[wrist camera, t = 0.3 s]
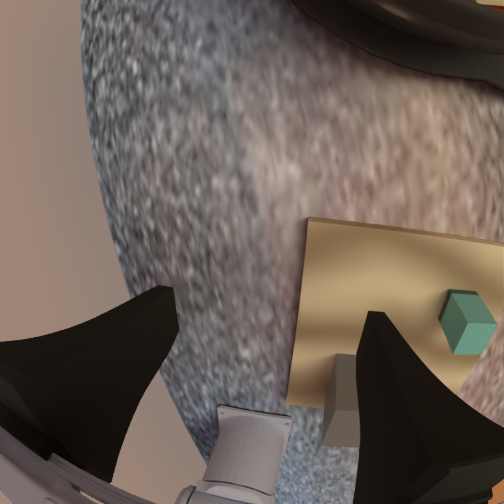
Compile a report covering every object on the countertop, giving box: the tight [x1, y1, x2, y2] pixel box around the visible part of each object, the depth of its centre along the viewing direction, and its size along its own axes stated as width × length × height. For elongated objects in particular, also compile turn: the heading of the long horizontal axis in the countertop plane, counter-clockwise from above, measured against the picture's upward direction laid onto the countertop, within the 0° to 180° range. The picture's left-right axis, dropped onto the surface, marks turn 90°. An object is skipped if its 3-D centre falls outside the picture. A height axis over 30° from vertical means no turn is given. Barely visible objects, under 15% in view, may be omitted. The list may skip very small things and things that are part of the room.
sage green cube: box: [438, 289, 497, 355], centre depth 17 cm, size 3×3×4 cm
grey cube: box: [321, 353, 360, 447], centre depth 20 cm, size 5×5×6 cm
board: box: [285, 217, 504, 408], centre depth 21 cm, size 18×17×1 cm
